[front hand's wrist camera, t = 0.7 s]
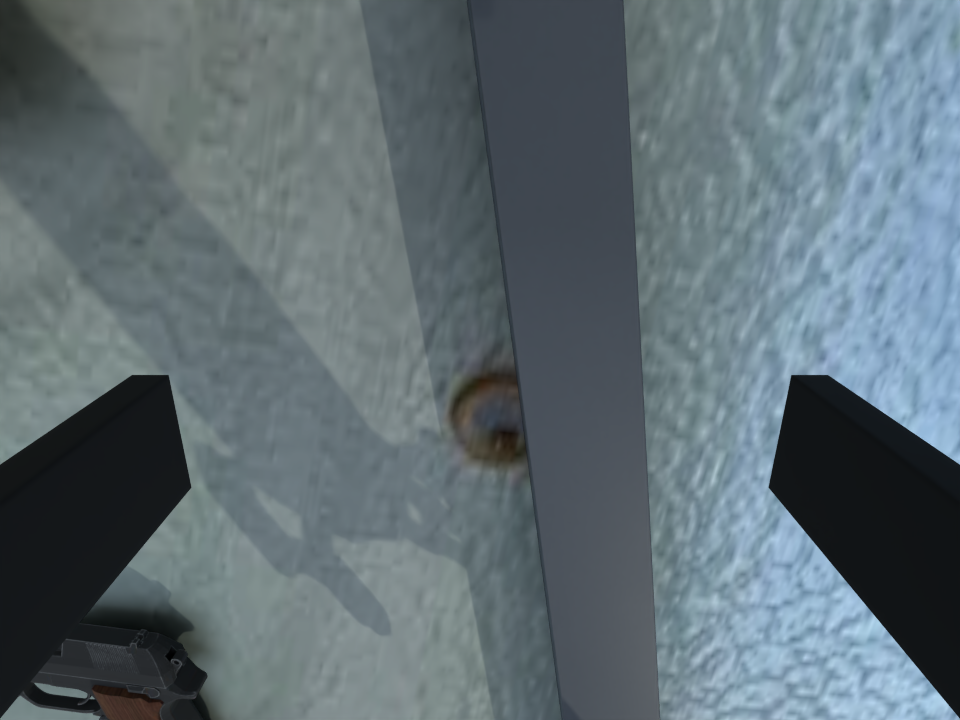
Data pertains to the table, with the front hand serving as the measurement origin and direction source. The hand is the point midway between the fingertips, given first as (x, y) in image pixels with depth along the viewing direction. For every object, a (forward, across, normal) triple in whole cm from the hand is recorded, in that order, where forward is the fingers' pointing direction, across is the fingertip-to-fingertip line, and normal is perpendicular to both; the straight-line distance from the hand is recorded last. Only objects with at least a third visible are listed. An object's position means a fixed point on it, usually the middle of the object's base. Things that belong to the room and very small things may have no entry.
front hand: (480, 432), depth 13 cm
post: (+17, +6, -17) cm, 25 cm away
